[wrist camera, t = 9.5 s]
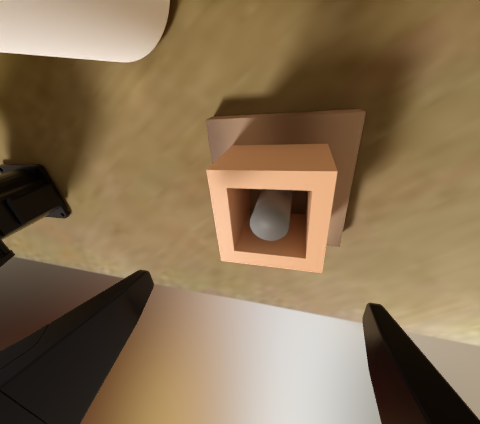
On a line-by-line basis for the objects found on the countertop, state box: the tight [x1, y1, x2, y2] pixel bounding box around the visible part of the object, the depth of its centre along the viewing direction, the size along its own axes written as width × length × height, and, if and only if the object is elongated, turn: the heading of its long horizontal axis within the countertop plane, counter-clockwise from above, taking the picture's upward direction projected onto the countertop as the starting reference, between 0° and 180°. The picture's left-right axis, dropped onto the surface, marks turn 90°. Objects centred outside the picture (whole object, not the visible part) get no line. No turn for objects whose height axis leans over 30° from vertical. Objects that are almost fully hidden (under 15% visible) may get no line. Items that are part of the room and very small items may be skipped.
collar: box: [207, 144, 338, 273], centre depth 14 cm, size 6×6×5 cm
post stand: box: [206, 109, 366, 247], centre depth 15 cm, size 10×10×6 cm
